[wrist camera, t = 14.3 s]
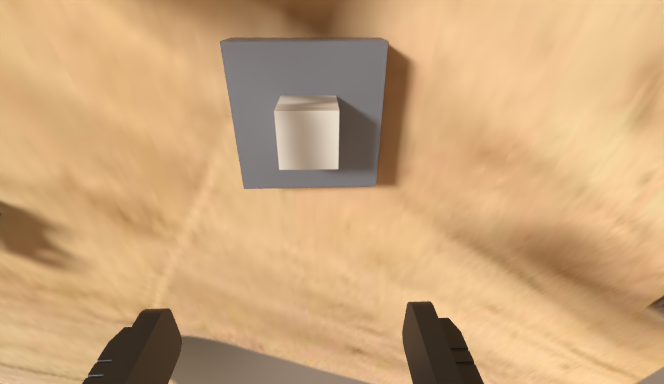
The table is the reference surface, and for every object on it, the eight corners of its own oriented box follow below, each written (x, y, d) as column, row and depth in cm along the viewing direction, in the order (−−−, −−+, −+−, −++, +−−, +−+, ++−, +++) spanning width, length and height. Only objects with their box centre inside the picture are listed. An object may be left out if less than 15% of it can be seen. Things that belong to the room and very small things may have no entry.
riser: (380, 37, 29) (388, 41, 26) (370, 169, 37) (376, 186, 33) (231, 38, 29) (219, 41, 26) (251, 171, 36) (244, 188, 33)
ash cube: (336, 95, 28) (339, 110, 24) (335, 146, 31) (338, 169, 26) (280, 95, 28) (273, 111, 24) (284, 147, 30) (279, 169, 26)
